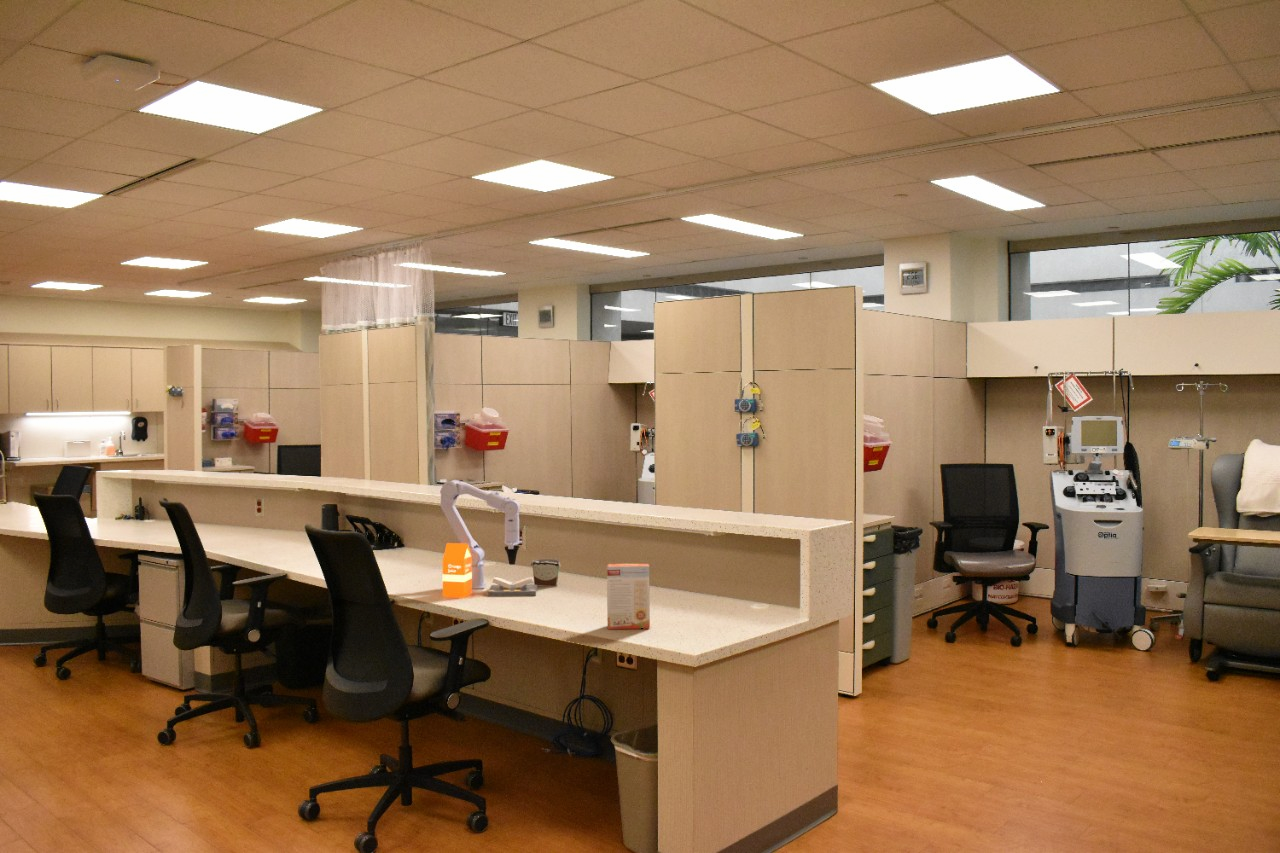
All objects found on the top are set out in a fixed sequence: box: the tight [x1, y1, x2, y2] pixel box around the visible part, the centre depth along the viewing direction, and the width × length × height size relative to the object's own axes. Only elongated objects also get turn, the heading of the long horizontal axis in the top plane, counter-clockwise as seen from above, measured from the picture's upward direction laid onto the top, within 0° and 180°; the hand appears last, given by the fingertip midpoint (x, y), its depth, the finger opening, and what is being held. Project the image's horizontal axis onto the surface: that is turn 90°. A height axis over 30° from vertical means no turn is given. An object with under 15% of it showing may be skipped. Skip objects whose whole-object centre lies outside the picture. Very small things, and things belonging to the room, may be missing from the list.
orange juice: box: [442, 542, 473, 599], centre depth 367 cm, size 8×9×20 cm
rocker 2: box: [513, 575, 534, 588], centre depth 373 cm, size 7×5×2 cm
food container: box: [530, 558, 561, 587], centre depth 388 cm, size 12×6×10 cm, turn 76°
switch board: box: [487, 584, 538, 597], centre depth 373 cm, size 18×14×3 cm
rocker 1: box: [492, 575, 513, 589], centre depth 372 cm, size 7×5×2 cm
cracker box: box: [606, 563, 651, 630], centre depth 316 cm, size 14×6×21 cm, turn 92°
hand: (512, 564), depth 381 cm, fingers closed
